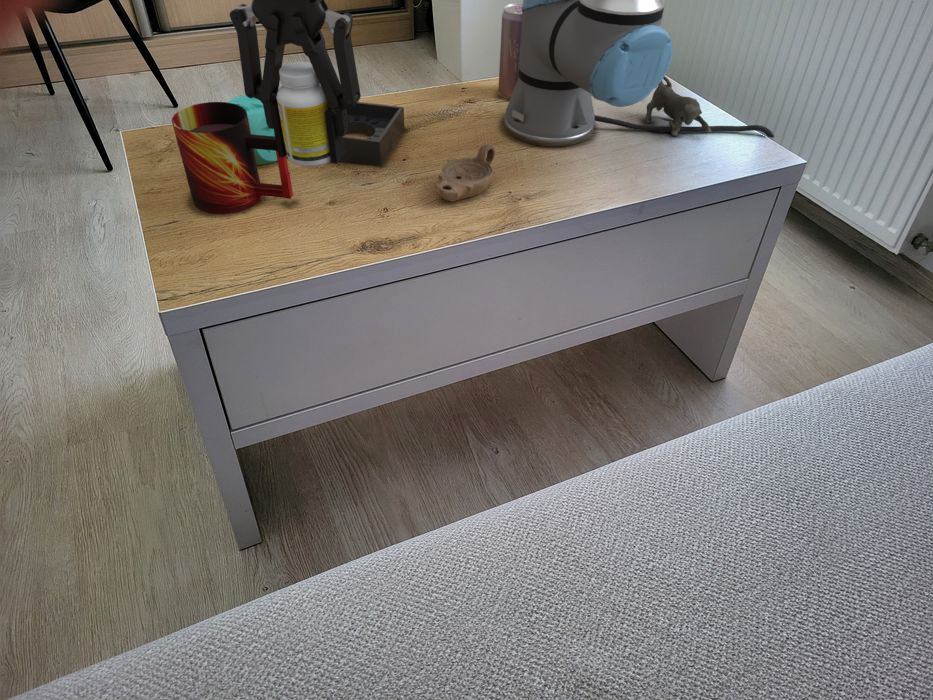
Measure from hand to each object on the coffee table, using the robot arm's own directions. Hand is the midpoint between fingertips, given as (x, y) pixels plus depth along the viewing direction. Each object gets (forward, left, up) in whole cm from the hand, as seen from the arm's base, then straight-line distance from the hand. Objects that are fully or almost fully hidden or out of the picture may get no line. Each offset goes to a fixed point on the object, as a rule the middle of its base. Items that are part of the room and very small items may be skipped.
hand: (311, 155), depth 90 cm
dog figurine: (-47, -45, -11) cm, 66 cm away
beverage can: (-18, -52, -11) cm, 56 cm away
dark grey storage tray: (+4, -26, -11) cm, 28 cm away
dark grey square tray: (+4, -26, -11) cm, 28 cm away
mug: (+14, -6, -11) cm, 19 cm away
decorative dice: (+17, -18, -11) cm, 27 cm away
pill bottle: (0, 0, -1) cm, 1 cm away
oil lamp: (-17, -16, -11) cm, 26 cm away
